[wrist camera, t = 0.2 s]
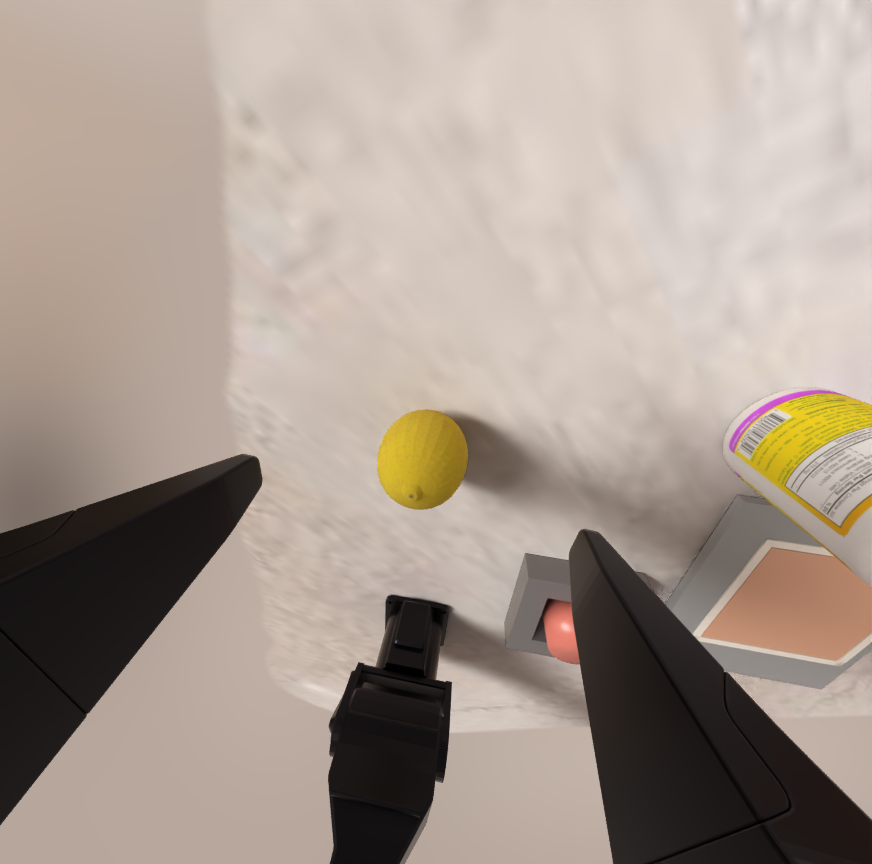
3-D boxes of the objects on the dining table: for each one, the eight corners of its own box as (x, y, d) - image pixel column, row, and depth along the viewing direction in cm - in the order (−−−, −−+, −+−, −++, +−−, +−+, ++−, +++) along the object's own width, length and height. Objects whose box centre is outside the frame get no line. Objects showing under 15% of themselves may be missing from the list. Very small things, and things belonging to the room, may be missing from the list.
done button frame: (605, 641, 32) (614, 668, 30) (504, 622, 33) (505, 648, 31) (644, 573, 27) (658, 600, 25) (525, 553, 28) (528, 577, 26)
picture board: (813, 679, 31) (822, 690, 30) (637, 646, 32) (641, 656, 31) (993, 531, 22) (1012, 542, 21) (737, 495, 23) (746, 503, 22)
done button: (591, 633, 30) (601, 669, 28) (536, 623, 31) (541, 657, 28) (609, 599, 28) (621, 634, 25) (549, 589, 28) (556, 622, 26)
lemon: (460, 467, 25) (450, 546, 18) (391, 449, 25) (355, 521, 18) (479, 403, 23) (476, 467, 16) (402, 384, 23) (364, 438, 16)
